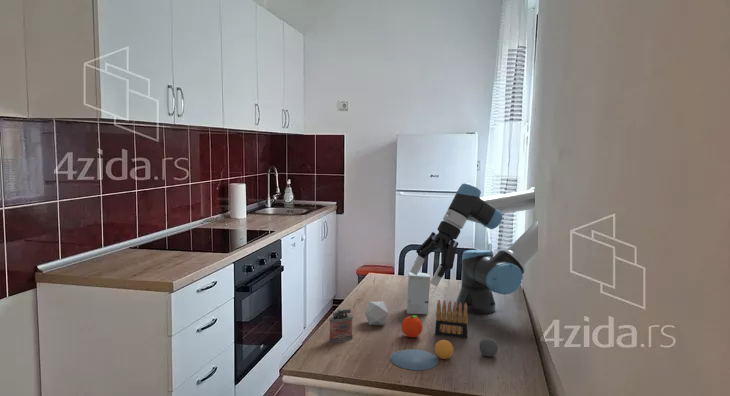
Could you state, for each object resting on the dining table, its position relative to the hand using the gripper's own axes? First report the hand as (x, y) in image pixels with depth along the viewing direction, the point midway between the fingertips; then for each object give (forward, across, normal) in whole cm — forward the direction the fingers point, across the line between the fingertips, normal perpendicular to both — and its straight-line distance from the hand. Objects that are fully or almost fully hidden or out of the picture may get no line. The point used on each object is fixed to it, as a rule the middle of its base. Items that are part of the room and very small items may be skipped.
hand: (422, 279), depth 171 cm
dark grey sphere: (+8, +28, +13) cm, 32 cm away
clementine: (+18, +6, +3) cm, 20 cm away
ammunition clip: (+12, +10, +14) cm, 21 cm away
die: (+22, -9, -2) cm, 24 cm away
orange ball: (+15, +25, +1) cm, 29 cm away
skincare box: (+12, -15, +16) cm, 25 cm away
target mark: (+22, +22, -5) cm, 32 cm away
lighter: (+30, 0, -17) cm, 35 cm away
